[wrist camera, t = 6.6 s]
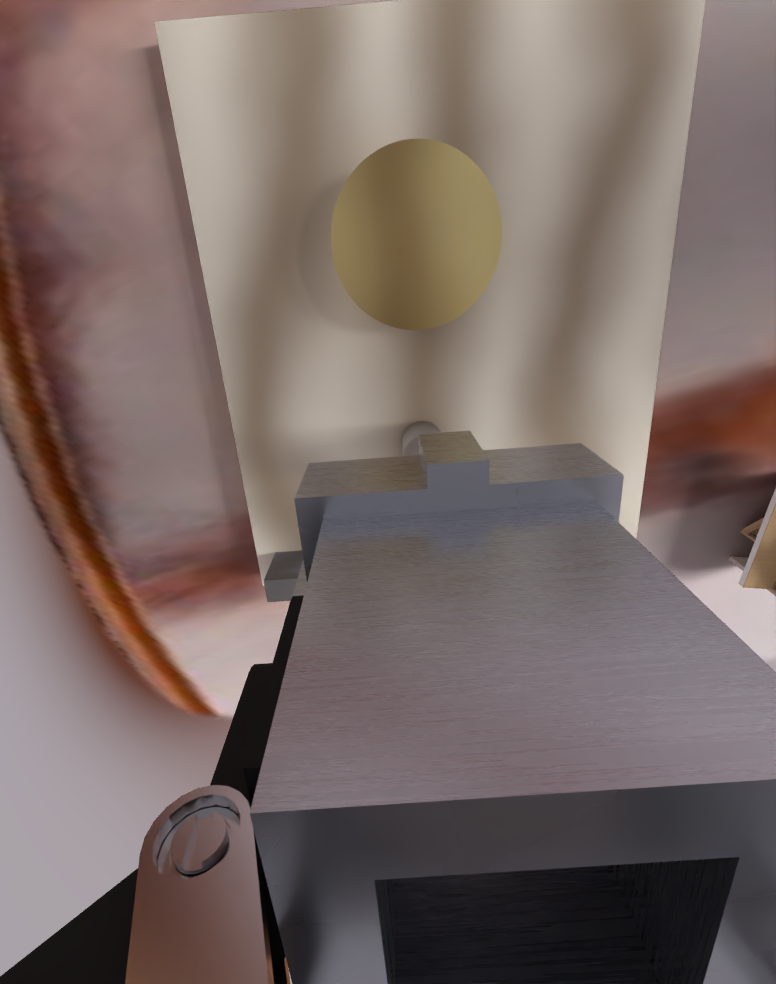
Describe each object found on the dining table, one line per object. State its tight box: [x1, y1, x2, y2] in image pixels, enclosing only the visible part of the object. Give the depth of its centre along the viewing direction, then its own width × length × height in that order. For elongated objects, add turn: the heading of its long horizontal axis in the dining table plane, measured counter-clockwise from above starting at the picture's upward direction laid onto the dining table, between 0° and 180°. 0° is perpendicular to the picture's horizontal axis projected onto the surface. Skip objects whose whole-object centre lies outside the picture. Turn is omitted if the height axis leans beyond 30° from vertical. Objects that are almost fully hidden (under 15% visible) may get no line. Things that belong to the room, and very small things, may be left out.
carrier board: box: [154, 0, 706, 602], centre depth 21 cm, size 20×24×6 cm
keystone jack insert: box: [250, 431, 776, 984], centre depth 9 cm, size 7×7×8 cm
